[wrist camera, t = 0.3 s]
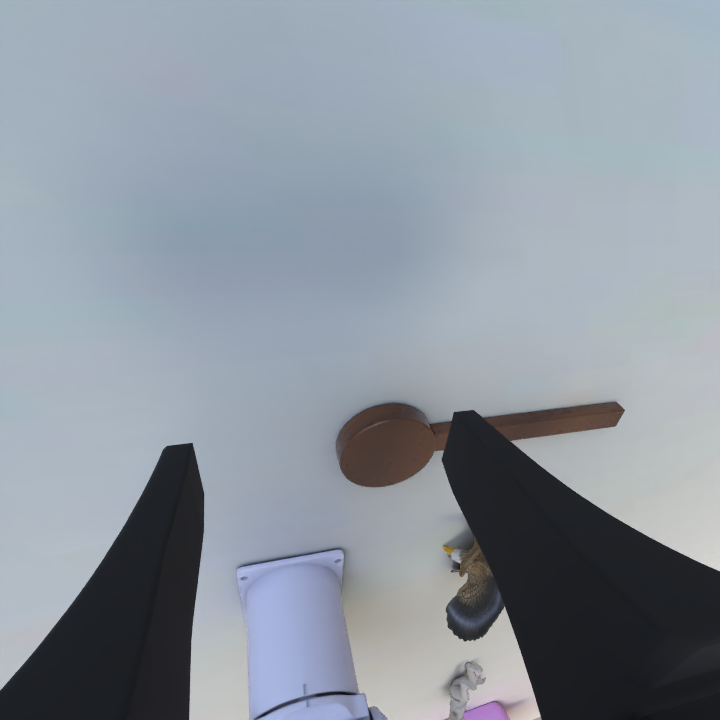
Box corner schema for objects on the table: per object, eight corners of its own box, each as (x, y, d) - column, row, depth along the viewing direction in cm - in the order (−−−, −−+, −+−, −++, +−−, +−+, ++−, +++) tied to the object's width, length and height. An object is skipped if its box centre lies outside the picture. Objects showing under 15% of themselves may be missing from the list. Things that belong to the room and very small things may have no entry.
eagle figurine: (415, 544, 34) (421, 615, 38) (500, 601, 29) (496, 675, 33) (470, 487, 38) (470, 556, 43) (551, 528, 34) (542, 602, 38)
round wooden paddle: (630, 376, 30) (645, 390, 29) (596, 439, 33) (608, 453, 32) (337, 408, 25) (342, 425, 24) (334, 476, 29) (338, 494, 28)
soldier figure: (490, 647, 59) (491, 706, 64) (455, 632, 62) (458, 690, 66) (470, 702, 53) (473, 764, 58) (433, 683, 56) (438, 743, 60)
